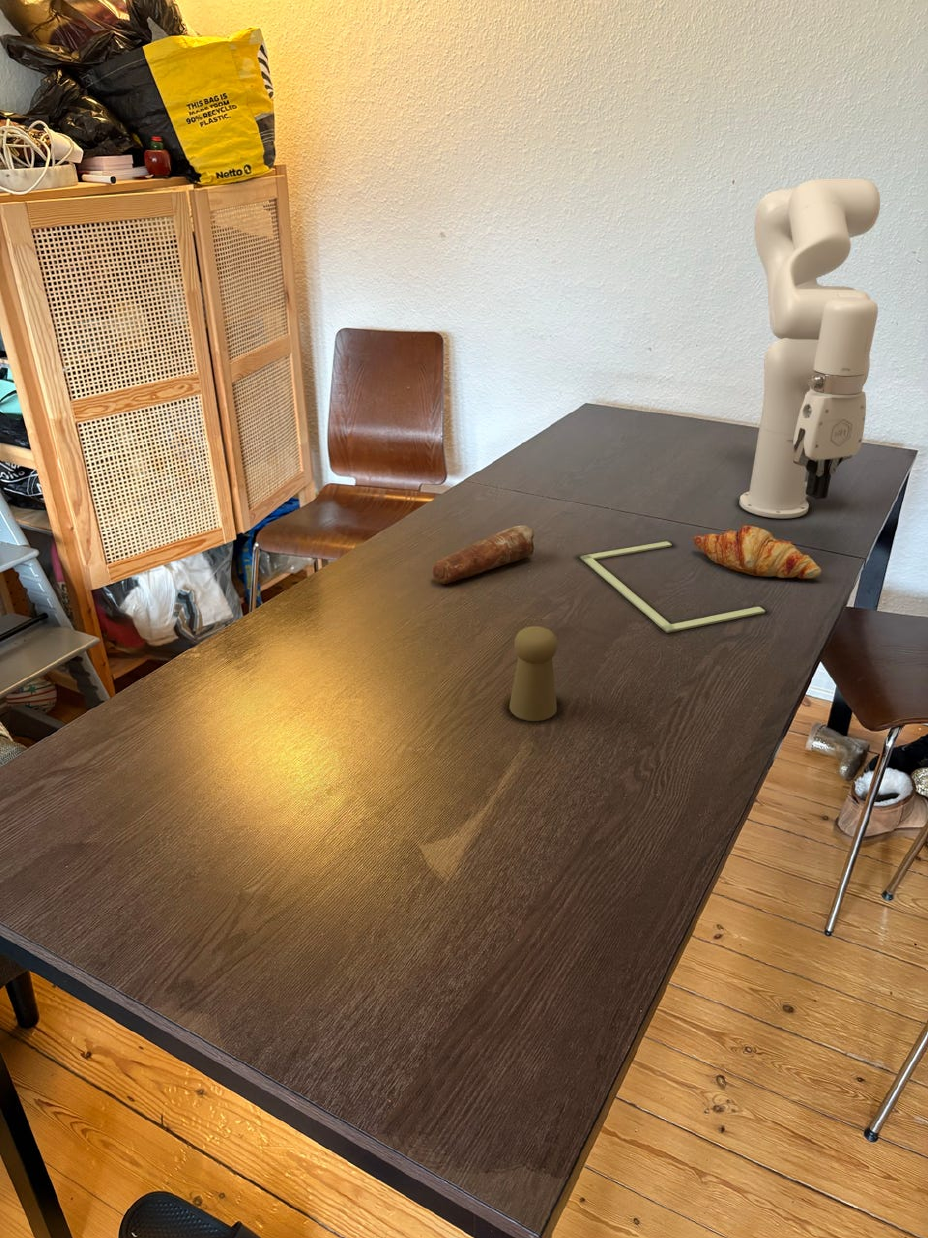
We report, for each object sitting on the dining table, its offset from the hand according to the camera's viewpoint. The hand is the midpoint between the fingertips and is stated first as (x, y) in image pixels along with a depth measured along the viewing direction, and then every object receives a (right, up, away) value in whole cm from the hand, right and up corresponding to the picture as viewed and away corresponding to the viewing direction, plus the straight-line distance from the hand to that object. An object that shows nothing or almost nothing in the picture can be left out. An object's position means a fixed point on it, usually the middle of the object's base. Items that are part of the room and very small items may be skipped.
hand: (815, 496), depth 148 cm
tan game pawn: (-49, -31, -32) cm, 66 cm away
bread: (-54, -12, +2) cm, 55 cm away
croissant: (-9, -12, +3) cm, 15 cm away
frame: (-25, -14, -2) cm, 29 cm away
